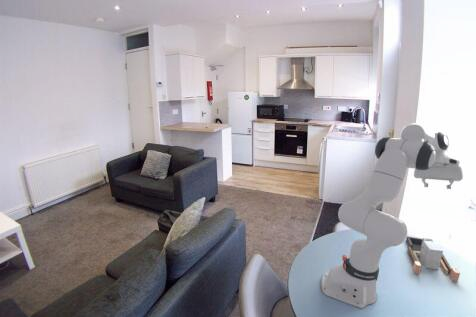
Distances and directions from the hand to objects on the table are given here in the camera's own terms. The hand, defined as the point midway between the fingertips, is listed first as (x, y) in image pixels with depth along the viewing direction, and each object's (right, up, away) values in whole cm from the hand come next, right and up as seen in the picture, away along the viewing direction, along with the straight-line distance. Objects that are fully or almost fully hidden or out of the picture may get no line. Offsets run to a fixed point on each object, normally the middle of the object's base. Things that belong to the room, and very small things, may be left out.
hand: (437, 187), depth 139 cm
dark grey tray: (-2, -33, +9) cm, 35 cm away
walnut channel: (-7, -37, -2) cm, 37 cm away
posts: (-10, -40, -12) cm, 42 cm away
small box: (-7, -37, -3) cm, 38 cm away
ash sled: (-7, -37, -3) cm, 38 cm away
